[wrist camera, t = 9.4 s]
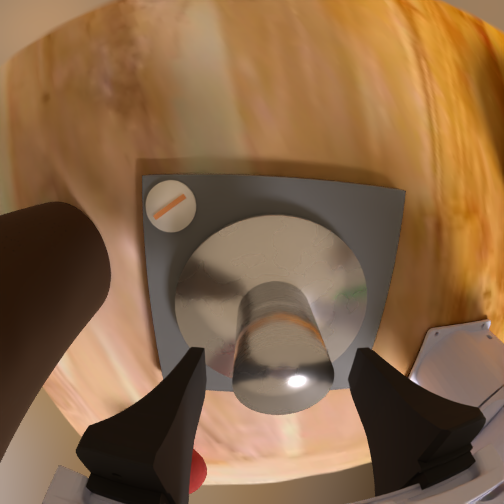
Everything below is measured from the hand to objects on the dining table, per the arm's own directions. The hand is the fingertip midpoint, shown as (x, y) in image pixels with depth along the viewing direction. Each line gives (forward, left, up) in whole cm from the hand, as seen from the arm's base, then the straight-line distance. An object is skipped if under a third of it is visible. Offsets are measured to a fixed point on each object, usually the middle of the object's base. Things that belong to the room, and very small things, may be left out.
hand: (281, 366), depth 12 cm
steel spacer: (0, 0, -5) cm, 5 cm away
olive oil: (+16, -2, -7) cm, 18 cm away
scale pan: (0, 0, -5) cm, 5 cm away
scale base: (0, 0, -7) cm, 7 cm away
